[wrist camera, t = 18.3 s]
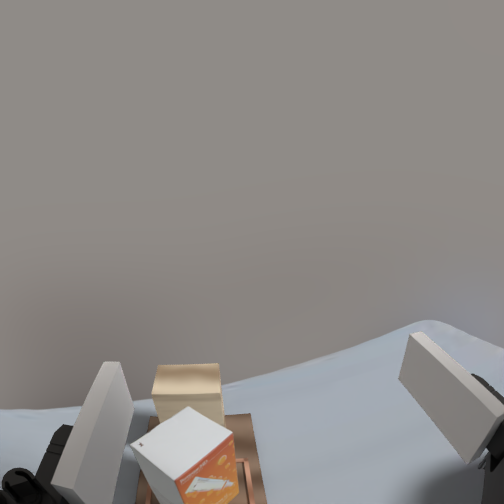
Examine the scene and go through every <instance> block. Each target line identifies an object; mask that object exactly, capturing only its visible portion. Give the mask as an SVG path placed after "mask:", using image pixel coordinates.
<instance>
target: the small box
mask: <svg viewBox="0 0 504 504" xmlns="http://www.w3.org/2000/svg"><path fill="white" fill-rule="evenodd" d="M130 447H131V449H132V451H133V453H134V455H135V457H136V459H137V462H138V464H139V466H140V468H141V470H142V472H143V474H144V476H145V478H146V480H147V481H148V483H149V485H150V487H151V489H152V491H153V493H154V494H155V496H156V498H157V499H158V501H159V503H160V504H228V503H229V502H230V501H231V500H232V499H233V498H234V497H235V496H236V495H237V494H238V493H239V487H238V477H237V468H236V459H235V448H234V438H233V432H232V431H230V430H228V429H226V428H224V427H223V426H221V425H219V424H217V423H215V422H214V421H212V420H210V419H208V418H207V417H205V416H203V415H202V414H200V413H199V412H197V411H195V410H194V409H192V408H191V407H189V406H188V407H186V408H184V409H183V410H181V411H180V412H178V413H177V414H175V415H174V416H172V417H171V418H169V419H168V420H166V421H164V422H162V423H161V424H159V425H158V426H156V427H155V428H154V429H152V430H151V431H150V432H148V433H147V434H145V435H144V436H142V437H141V438H139V439H138V440H136V441H135V442H133V443H131V444H130Z"/></svg>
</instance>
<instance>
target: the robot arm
mask: <svg viewBox="0 0 504 504" xmlns="http://www.w3.org/2000/svg"><path fill="white" fill-rule="evenodd" d="M398 379H399V381H400V382H401V383H402V384H403V385H404V387H405V388H406V389H407V390H408V391H409V393H410V394H411V395H412V396H413V398H414V399H415V400H416V401H417V402H418V404H419V405H420V406H421V407H422V409H423V410H424V411H425V412H426V413H427V415H428V416H429V417H430V418H431V420H432V421H433V422H434V423H435V425H436V426H437V427H438V428H439V430H440V431H441V432H442V433H443V435H444V436H445V437H446V438H447V440H448V441H449V442H450V444H451V445H452V446H453V447H454V449H455V450H456V451H457V452H458V454H459V455H460V456H461V458H462V459H463V460H464V461H465V463H466V464H469V463H471V462H472V461H474V460H476V459H477V458H479V457H480V456H481V454H482V453H483V451H484V450H485V448H487V449H488V450H489V452H488V453H487V455H486V456H485V458H484V459H483V460H482V462H481V463H480V464H479V467H478V469H480V468H481V467H482V466H483V464H484V463H485V462H486V465H485V467H484V468H483V469H485V478H484V488H483V496H482V503H481V504H504V397H503V396H501V395H500V394H499V393H498V392H497V391H495V389H494V388H493V387H492V386H489V384H488V383H487V382H486V381H485V380H484V379H483V378H481V377H479V376H477V375H475V374H470V373H469V372H468V371H466V370H465V369H464V368H463V367H462V366H461V365H460V364H459V363H457V362H456V361H455V360H454V359H453V358H452V357H451V356H450V355H448V354H447V353H446V352H445V351H444V350H443V349H441V348H440V347H439V346H438V345H437V344H436V343H435V342H433V341H432V340H431V339H430V338H429V337H428V336H426V335H425V334H424V333H423V332H422V331H420V332H416V333H412V334H409V338H408V343H407V347H406V351H405V355H404V359H403V363H402V367H401V370H400V374H399V378H398ZM134 409H135V408H134V405H133V402H132V399H131V396H130V393H129V390H128V387H127V384H126V381H125V377H124V374H123V371H122V367H121V364H120V362H104V363H103V365H102V367H101V369H100V371H99V373H98V375H97V377H96V379H95V381H94V383H93V385H92V387H91V389H90V391H89V394H88V396H87V398H86V400H85V402H84V404H83V406H82V409H81V411H80V413H79V415H78V418H77V420H76V422H75V424H74V426H70V425H64V424H63V425H62V426H61V427H60V428H59V429H58V430H57V431H56V432H55V433H54V435H53V437H52V439H51V441H50V445H48V448H47V450H46V451H47V452H46V453H45V454H44V457H43V459H42V461H41V463H40V466H39V468H38V470H37V473H36V475H35V476H34V475H33V474H32V473H31V472H30V471H28V470H27V469H24V468H13V469H12V470H10V471H8V472H7V473H6V474H5V475H4V477H3V480H2V489H3V490H0V504H112V503H113V498H114V493H115V488H116V483H117V478H118V474H119V469H120V465H121V461H122V456H123V452H124V448H125V444H126V440H127V436H128V432H129V428H130V424H131V420H132V416H133V412H134Z"/></svg>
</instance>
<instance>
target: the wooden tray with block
mask: <svg viewBox="0 0 504 504" xmlns="http://www.w3.org/2000/svg"><path fill="white" fill-rule="evenodd" d="M152 398H153V401H154V405H155V408H156V411H157V415H158V417H153V416H150V420H149V425H148V430H147V433H148V432H150V431H151V430H152V429H154V428H155V427H156V426H158V425H159V424H161V423H162V422H164V421H166V420H168V419H169V418H171V417H172V416H174V415H175V414H177V413H178V412H180V411H181V410H183V409H184V408H186V407H188V406H189V407H191V408H192V409H194V410H195V411H197V412H199V413H200V414H202V415H203V416H205V417H207V418H208V419H210V420H212V421H214V422H215V423H217V424H219V425H221V426H223V427H224V428H226V429H228V430H230V431H232V432H233V438H234V448H235V459H236V468H237V477H238V487H239V493H238V494H237V495H236V496H235V497H234V498H233V499H232V500H231V501H230V502H229V503H228V504H267V500H266V495H265V490H264V485H263V480H262V475H261V469H260V464H259V459H258V453H257V448H256V442H255V437H254V431H253V425H252V420H251V414H250V413H249V414H237V415H224V407H223V398H222V389H221V381H220V372H219V363H215V364H191V365H158V369H157V373H156V377H155V381H154V385H153V390H152ZM135 504H160V503H159V501H158V499H157V498H156V496H155V494H154V493H153V491H152V489H151V487H150V485H149V483H148V481H147V480H146V478H145V476H144V474H143V472H142V470H141V469H140V475H139V482H138V488H137V495H136V502H135Z"/></svg>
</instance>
